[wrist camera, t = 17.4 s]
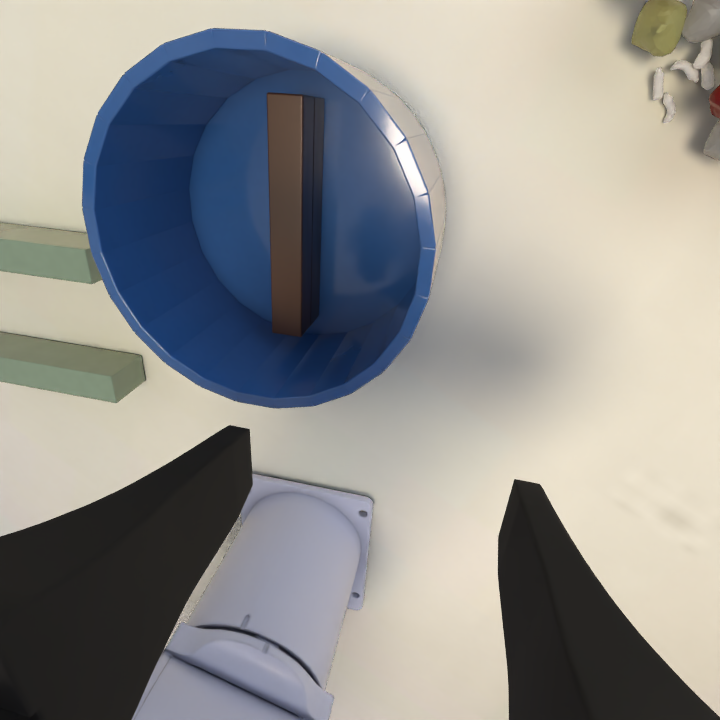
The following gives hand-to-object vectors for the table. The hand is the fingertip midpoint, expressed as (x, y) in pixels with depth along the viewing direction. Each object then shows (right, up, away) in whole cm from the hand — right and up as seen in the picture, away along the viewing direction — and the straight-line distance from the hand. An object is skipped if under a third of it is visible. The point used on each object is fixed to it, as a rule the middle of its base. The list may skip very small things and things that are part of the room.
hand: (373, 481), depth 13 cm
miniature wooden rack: (-17, +6, +13) cm, 22 cm away
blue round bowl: (-2, +10, +8) cm, 12 cm away
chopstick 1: (-3, +9, +6) cm, 11 cm away
